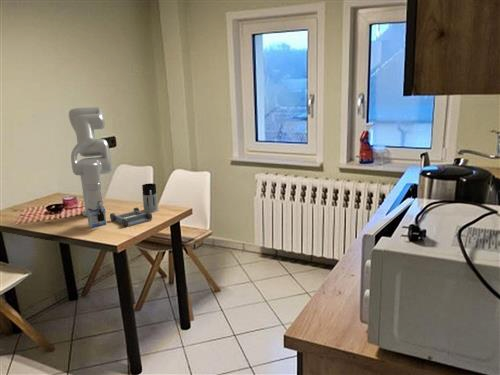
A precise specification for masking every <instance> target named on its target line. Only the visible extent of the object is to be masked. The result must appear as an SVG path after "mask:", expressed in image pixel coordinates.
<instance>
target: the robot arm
mask: <svg viewBox="0 0 500 375" xmlns="http://www.w3.org/2000/svg"><path fill="white" fill-rule="evenodd" d="M68 118H69V122H70V124H71V127H72V129H73V130H74V132H75V135H76V141H77V143H76V145H75V146H74V147H73V148H72V151H71V155H70V161H71V168H72V169H71V170H72V173H73V174H74V175H75V176H79V177H80V181H81V189H82V196H83V203H84V211H83V212H82V216H83V217H87V210H91V209H92V210H96V211H97V213H98V214H97V218H98V222H100V221H104V209H105V206H104V201H103V195H102V183H101V182H102V181H101V175H106V174H110V173H111V172H112V170H113V166H112V165H113V164H112V158H111V153H110V148H109V147H110V146H109V143H108V141H107V140H106V139H104V138H95V131H96V130H103V129H104V128H105V125H106V124H105V117H104V113H103V111H102V108H100V107H94V106H93V107H76V108H72V109H70V110H69V111H68ZM78 155H80V156H81V157H84V158H81V159H79V160H77V159H78ZM106 213H107V210H106V209H105V214H106Z"/></svg>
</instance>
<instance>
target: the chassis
mask: <svg viewBox="0 0 500 375" xmlns="http://www.w3.org/2000/svg"><path fill="white" fill-rule="evenodd" d="M109 219H110V220H111V222H117V223H119V224H121V225H122V226H123V227H132V226H136V225H139V224H144V223H147V222H151V220H152V219H153V213H150V212H148V213H146V212H143V211H140V209H139V207H134V208H133V211H130V212H129V211H128V212H125V213H122V214H117V215H116V213H114V212H113V213H110V214H109Z"/></svg>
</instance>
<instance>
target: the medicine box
mask: <svg viewBox="0 0 500 375" xmlns="http://www.w3.org/2000/svg"><path fill="white" fill-rule="evenodd" d="M105 210H106V208H104V221H100V222H98V218H97V214H98V213H97V211H96V210H92V209H91V210H87V216H86V217H87V223H88V226H89V227H90V228H91V229H92V228H97V227H101V226H105V225H107V218H106V217H107V216H106V213H105Z"/></svg>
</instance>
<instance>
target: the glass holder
mask: <svg viewBox="0 0 500 375" xmlns="http://www.w3.org/2000/svg"><path fill="white" fill-rule="evenodd" d="M141 187H142V201H143V202H142V203H143V211H142V212H143V213H145V214H146V213H148V212H150V213H151V214H153V213H156V212H159V210H160V209H159V207H158V194H157V184H156V183H145V184H142V185H141Z"/></svg>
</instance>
